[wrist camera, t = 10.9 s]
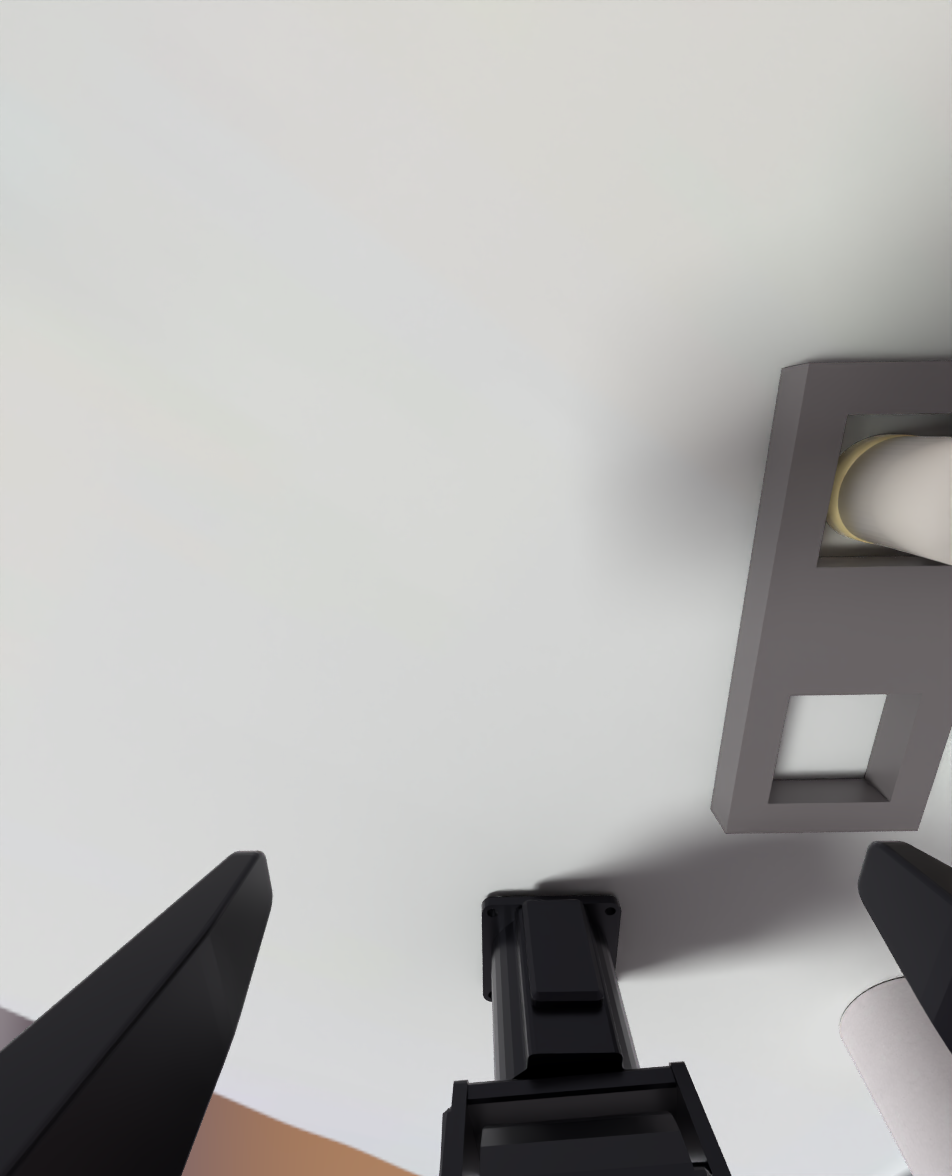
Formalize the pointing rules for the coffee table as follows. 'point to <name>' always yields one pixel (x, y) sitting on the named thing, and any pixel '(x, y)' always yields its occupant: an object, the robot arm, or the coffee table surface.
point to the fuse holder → (836, 621)
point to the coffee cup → (904, 1072)
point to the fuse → (896, 494)
